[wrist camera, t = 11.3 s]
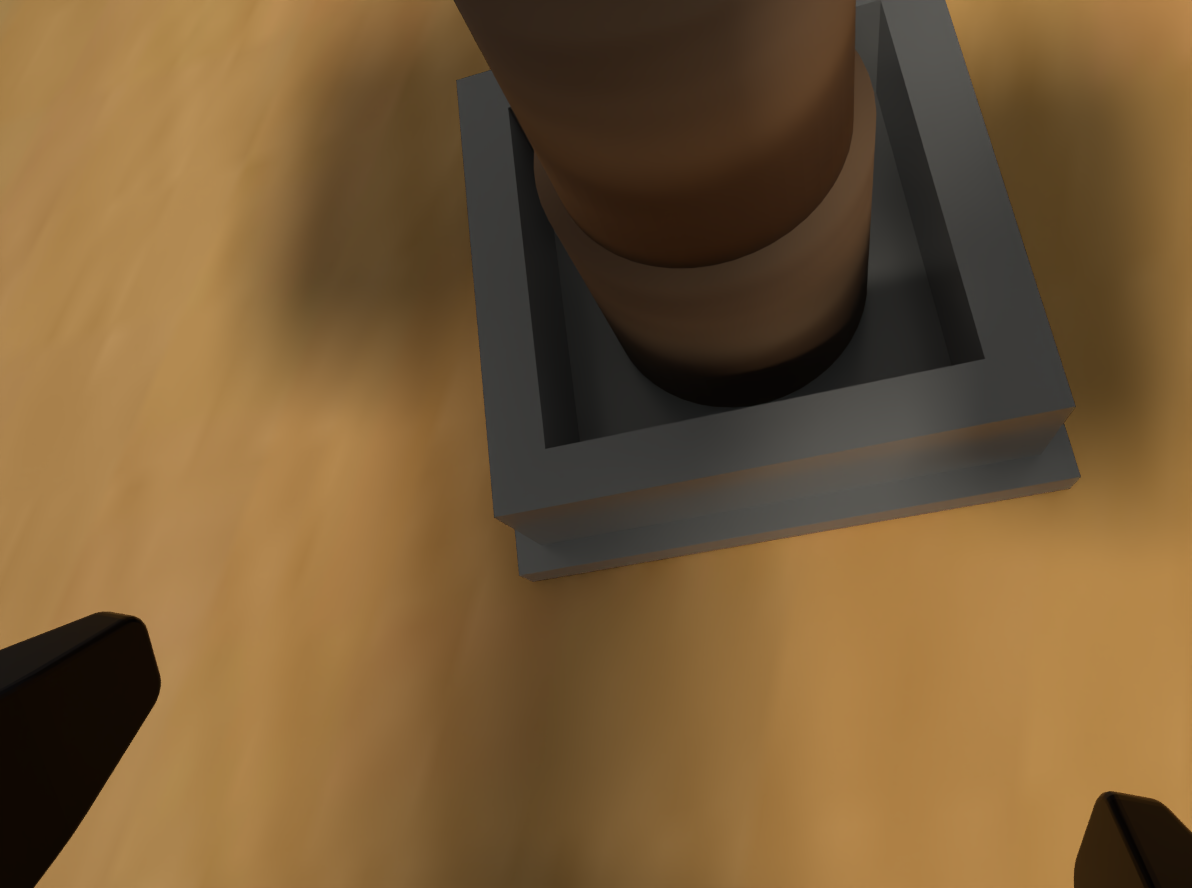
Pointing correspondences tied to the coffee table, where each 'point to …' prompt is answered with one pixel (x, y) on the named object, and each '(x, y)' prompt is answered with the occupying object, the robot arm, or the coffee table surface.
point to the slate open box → (807, 416)
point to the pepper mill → (701, 176)
